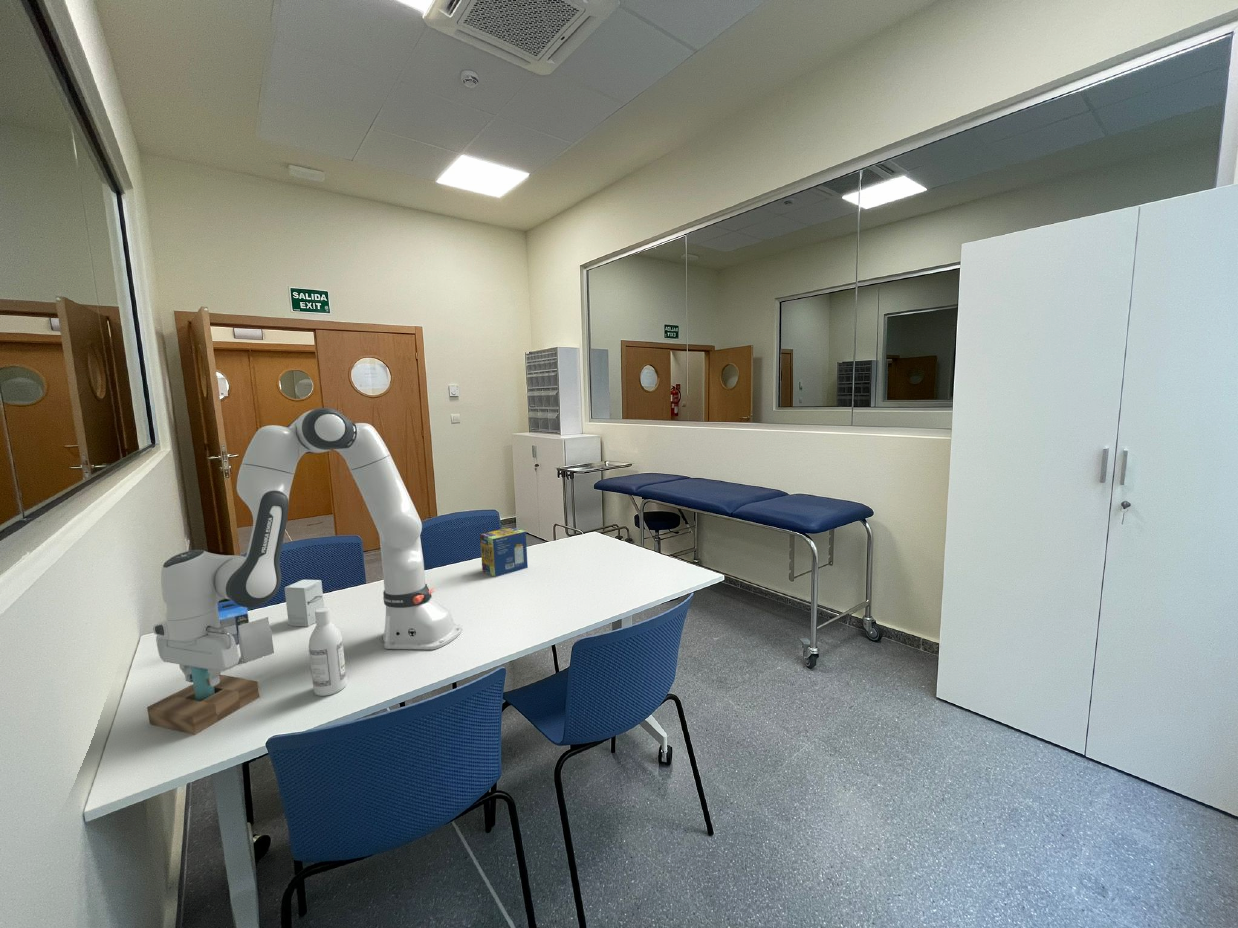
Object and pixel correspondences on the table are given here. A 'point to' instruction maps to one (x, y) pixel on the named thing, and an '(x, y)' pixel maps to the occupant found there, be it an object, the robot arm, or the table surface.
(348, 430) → the robot arm
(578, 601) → the table surface
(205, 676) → the peg
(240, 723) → the table surface
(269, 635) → the white carton
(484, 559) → the protein box
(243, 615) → the label tape box
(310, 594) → the supplement box
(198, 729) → the socket block
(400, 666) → the table surface
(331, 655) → the bath foam
